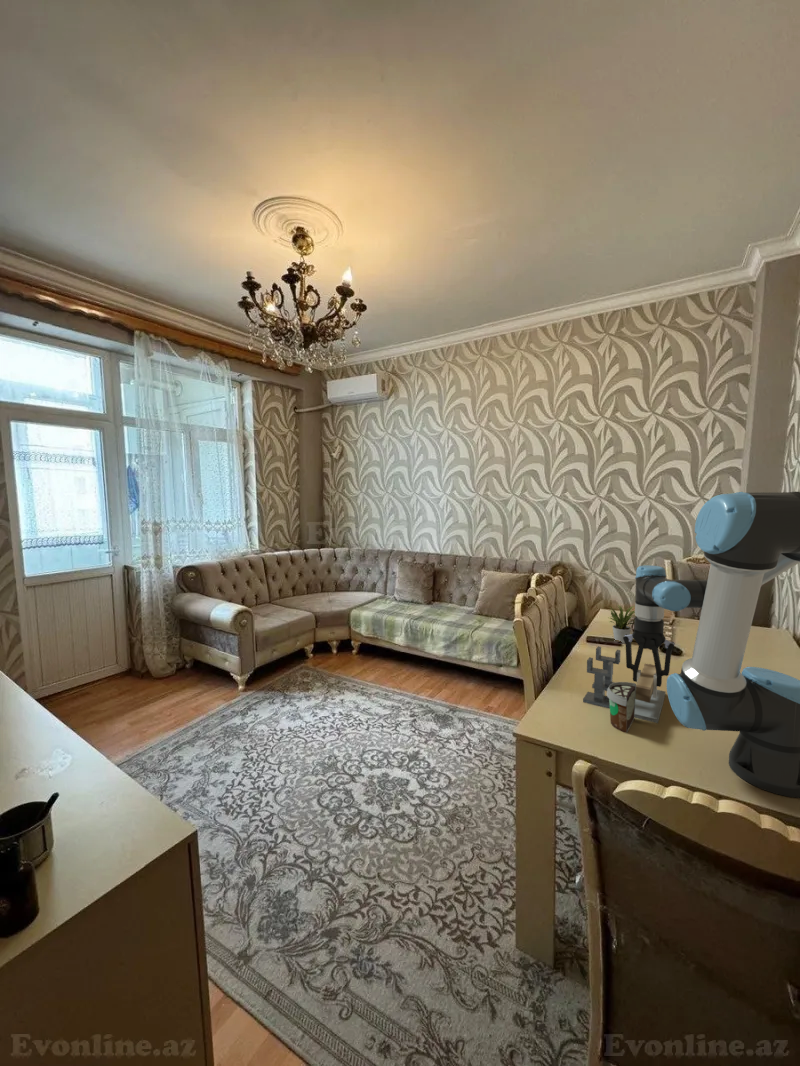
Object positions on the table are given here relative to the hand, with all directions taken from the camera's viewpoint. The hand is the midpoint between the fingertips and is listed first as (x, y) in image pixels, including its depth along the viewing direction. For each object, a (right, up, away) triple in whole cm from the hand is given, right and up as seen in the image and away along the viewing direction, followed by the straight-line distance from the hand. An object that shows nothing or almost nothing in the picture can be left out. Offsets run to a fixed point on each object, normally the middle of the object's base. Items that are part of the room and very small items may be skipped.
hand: (646, 693), depth 131 cm
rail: (0, +2, 0) cm, 2 cm away
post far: (-6, -2, +12) cm, 14 cm away
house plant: (+22, +2, +56) cm, 60 cm away
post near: (-13, -3, +2) cm, 14 cm away
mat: (0, -3, 0) cm, 3 cm away
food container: (-13, -5, -10) cm, 17 cm away
